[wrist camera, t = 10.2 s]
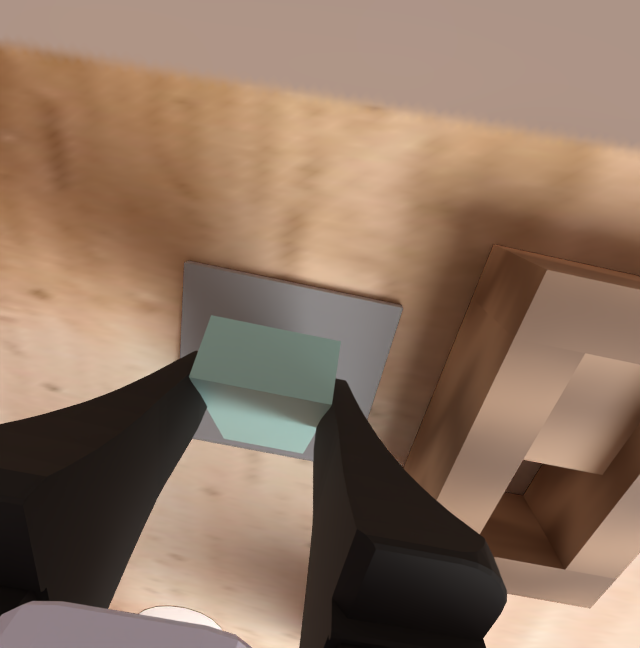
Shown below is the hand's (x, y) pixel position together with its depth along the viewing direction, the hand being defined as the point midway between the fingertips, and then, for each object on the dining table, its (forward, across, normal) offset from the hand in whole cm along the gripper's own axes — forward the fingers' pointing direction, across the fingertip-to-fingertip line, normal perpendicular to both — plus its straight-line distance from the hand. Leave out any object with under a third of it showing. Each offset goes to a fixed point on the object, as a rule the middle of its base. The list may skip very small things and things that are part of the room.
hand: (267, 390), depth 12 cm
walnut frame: (+5, -13, +3) cm, 14 cm away
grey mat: (+5, 0, +3) cm, 6 cm away
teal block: (+2, 0, +1) cm, 3 cm away
